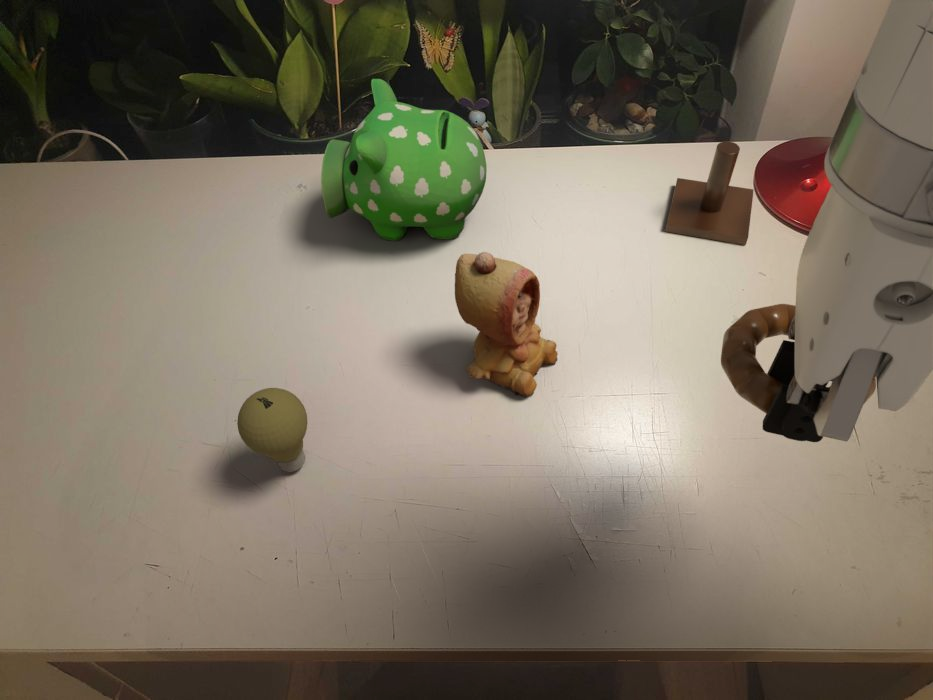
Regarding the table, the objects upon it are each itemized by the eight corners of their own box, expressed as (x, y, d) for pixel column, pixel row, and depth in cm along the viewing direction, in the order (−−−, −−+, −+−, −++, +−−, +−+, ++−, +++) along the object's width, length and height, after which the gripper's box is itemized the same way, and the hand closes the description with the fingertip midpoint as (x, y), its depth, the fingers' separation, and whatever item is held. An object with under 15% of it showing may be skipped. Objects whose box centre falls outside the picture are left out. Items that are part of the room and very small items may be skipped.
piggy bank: (351, 184, 86) (325, 75, 75) (489, 181, 85) (485, 70, 73) (332, 259, 77) (300, 149, 66) (487, 257, 76) (482, 144, 64)
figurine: (528, 415, 62) (491, 297, 52) (462, 396, 66) (417, 283, 56) (571, 343, 67) (545, 223, 57) (508, 329, 71) (474, 215, 61)
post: (751, 197, 80) (774, 130, 73) (745, 245, 75) (769, 178, 68) (675, 185, 82) (690, 119, 75) (664, 231, 77) (680, 165, 70)
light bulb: (333, 442, 62) (307, 378, 54) (312, 496, 58) (282, 436, 50) (278, 433, 63) (244, 369, 55) (254, 485, 59) (215, 426, 51)
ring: (864, 333, 43) (877, 313, 42) (870, 445, 38) (885, 427, 37) (724, 308, 45) (731, 288, 44) (712, 411, 40) (719, 392, 39)
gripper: (1109, 315, 20) (863, 552, 34) (1015, 54, 29) (853, 325, 44) (841, 272, 22) (713, 514, 36) (833, 39, 31) (734, 304, 45)
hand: (791, 409), depth 40 cm, fingers closed on ring, 2 cm apart
